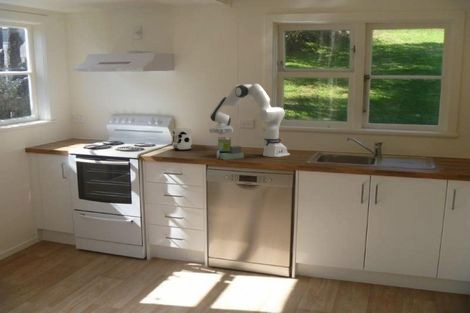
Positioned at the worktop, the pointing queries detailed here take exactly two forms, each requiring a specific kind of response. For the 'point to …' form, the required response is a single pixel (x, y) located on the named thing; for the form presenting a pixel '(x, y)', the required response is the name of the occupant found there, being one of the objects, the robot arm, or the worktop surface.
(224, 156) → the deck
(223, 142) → the tea box
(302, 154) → the worktop surface
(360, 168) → the worktop surface
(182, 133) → the milk container
